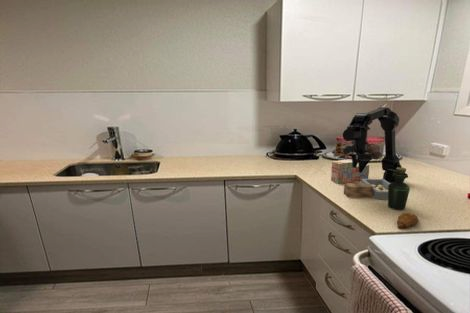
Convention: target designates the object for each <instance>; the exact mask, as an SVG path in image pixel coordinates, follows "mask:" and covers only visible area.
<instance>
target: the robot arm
mask: <svg viewBox="0 0 470 313" xmlns="http://www.w3.org/2000/svg"><path fill="white" fill-rule="evenodd" d="M375 120H378V121H379V123H380V128H381V129H382V130H383V131H384V147H385V148H384V150H385V151H384V152H385V155H384V157H382V159H381V168H382V169H381V170H382V171H384V172H383V175H382V176H383V177H382V179H384V180H386V181H387V182H389V183H392V182H396V180H395V177H394V176H393V173H394V172H396V168H397V167H401V168H403V167H402V165H401V162H400V158H399V157H398V155H397V154H396V130H397V127H399V122H400V117H399V115H398V114H397V113H396V112H394V111H393V110H391V108H390V107H386V106H385V107H384V106H383V107H378V108H376V109H373V110H371V111H367V112H356V113H355V114H354V115H353V117H352V119H351V121H350V123H349V125H348V126H347V128H346V129H344V131H343V133H342V138H343V140H345V141H346V142H351V143H349V144H345V145H342V146H340V151H341V153H342V154H343V155H347V154H348V156H350V158H351V160H352V163H353V168H356V166H357V164H358V166H359V173H361V172H362V171H363V170H364V168H365V167H366V165H369V163H370V162H371V161H372V160H373V155H372V154H371V153H369V152H368V150H367V145H368V144H369V142H368V133H369V130H371V128H370V126H371V125H372V123H373V122H374V121H375Z"/></svg>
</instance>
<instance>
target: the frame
mask: <svg viewBox="0 0 470 313" xmlns="http://www.w3.org/2000/svg"><path fill="white" fill-rule="evenodd" d="M360 184H370V185H371V186H373V193H372V197H373V198H374V199H375V200H388V185H389V184H390V183H389V182H387V181H386V180H384V179H383V178H368V179H361V181H360ZM376 187H377V188H376ZM383 188H384V189H385V190H384V189H383Z"/></svg>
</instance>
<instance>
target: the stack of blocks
mask: <svg viewBox="0 0 470 313" xmlns="http://www.w3.org/2000/svg"><path fill="white" fill-rule="evenodd" d="M369 173H370V164H367V165H366V167H365V168H364V170H363V171H362V172H361V173H359V166H358V164H357V166H356V168H353V163H352V159H341V160H340V159H339V160H333V161H331V176H330V181H331V182H333V183H335V184H337V185H339V184H340V185H341V184H350V183H356V182H361V179H369V175H370V174H369Z"/></svg>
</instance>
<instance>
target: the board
mask: <svg viewBox="0 0 470 313" xmlns="http://www.w3.org/2000/svg"><path fill="white" fill-rule="evenodd" d="M343 186H344V187H343V195H345V196H346V197H347V198H372V197H373V196H372V193H373V186H371V185H370V184H361V183H343Z"/></svg>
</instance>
